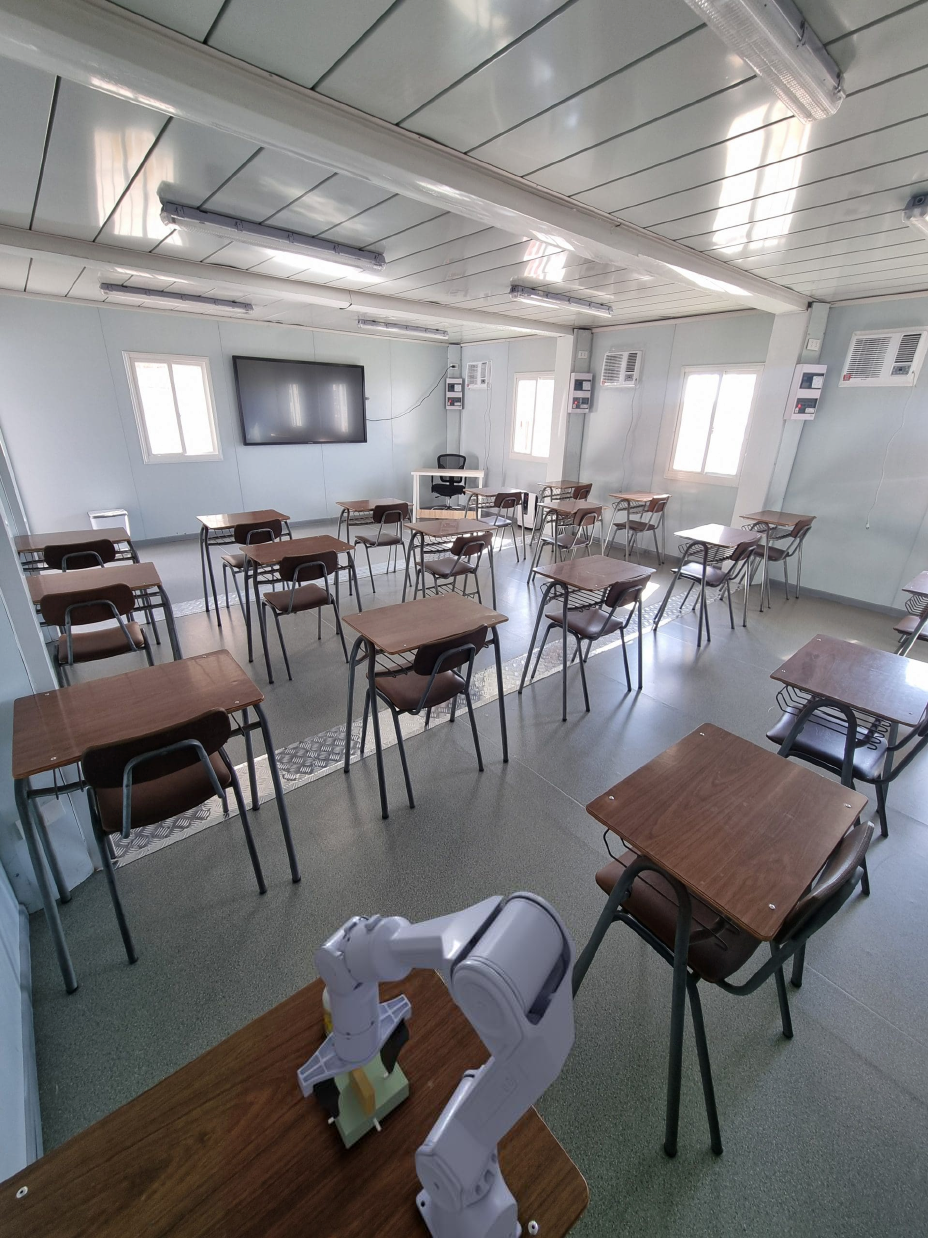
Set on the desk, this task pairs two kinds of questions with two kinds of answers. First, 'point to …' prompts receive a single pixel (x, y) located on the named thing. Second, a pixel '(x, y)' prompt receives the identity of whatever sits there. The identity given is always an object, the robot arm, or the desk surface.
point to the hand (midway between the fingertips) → (361, 1087)
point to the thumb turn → (363, 1090)
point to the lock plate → (386, 1098)
